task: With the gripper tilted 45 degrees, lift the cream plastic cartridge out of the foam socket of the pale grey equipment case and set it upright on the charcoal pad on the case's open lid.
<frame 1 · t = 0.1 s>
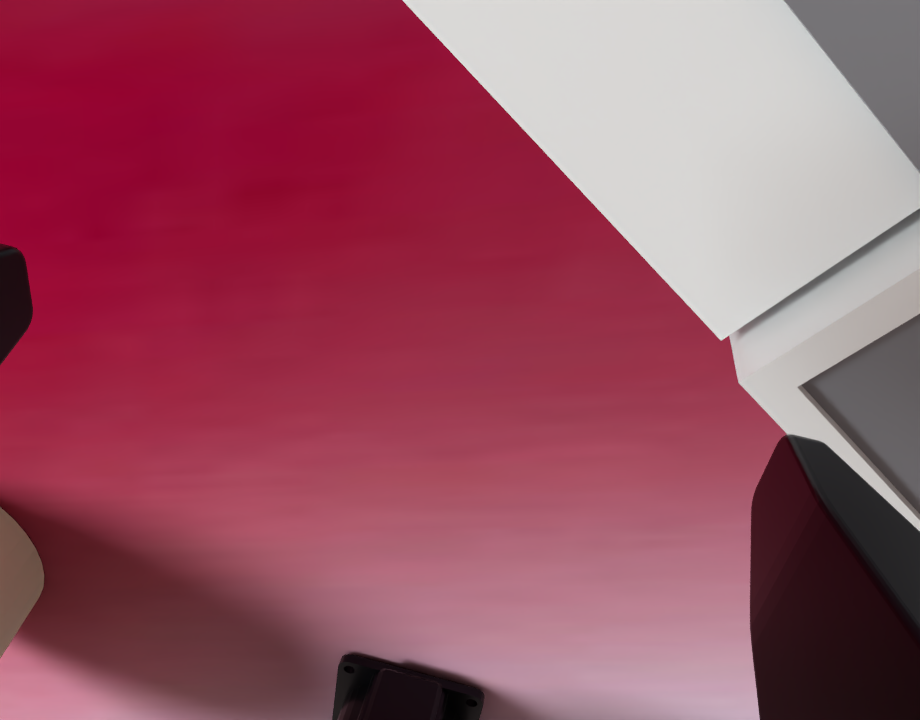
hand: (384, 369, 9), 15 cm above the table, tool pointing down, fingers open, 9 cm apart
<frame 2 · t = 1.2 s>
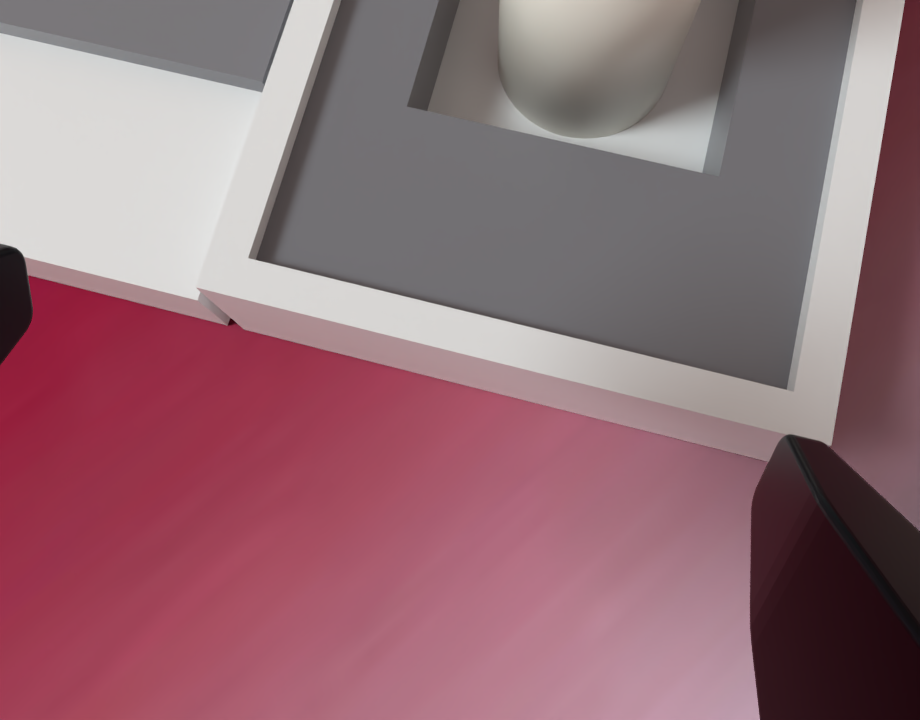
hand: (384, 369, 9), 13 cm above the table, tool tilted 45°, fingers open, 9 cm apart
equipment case: (579, 78, 24), on the table
cartridge: (583, 59, 23), point 1 cm above the table, touching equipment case
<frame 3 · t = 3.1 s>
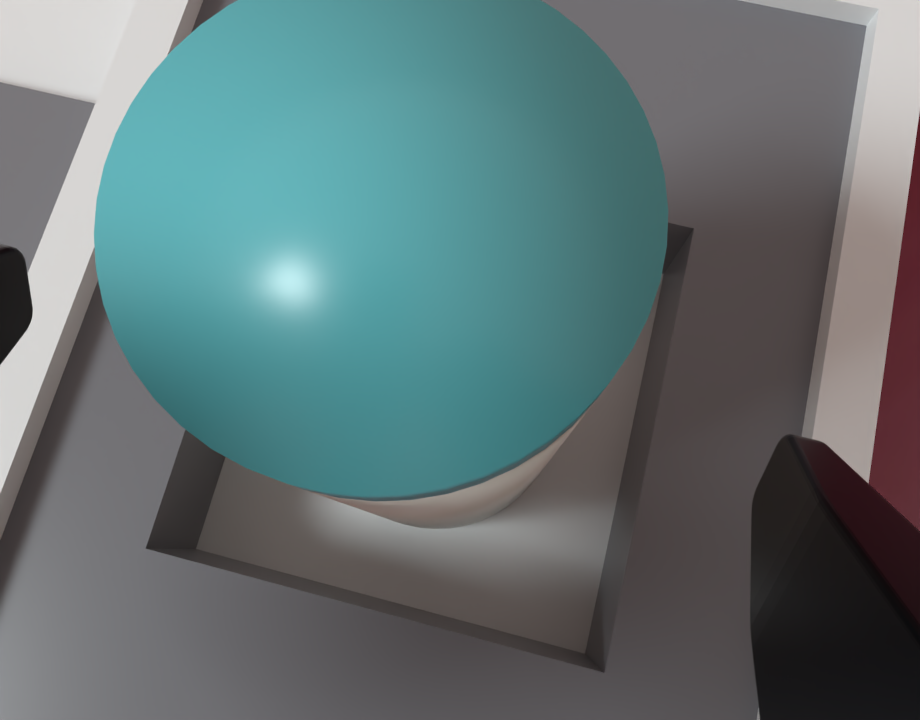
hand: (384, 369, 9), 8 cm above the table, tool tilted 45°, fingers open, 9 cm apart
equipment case: (440, 414, 18), on the table
cartridge: (437, 406, 17), point 1 cm above the table, touching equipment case
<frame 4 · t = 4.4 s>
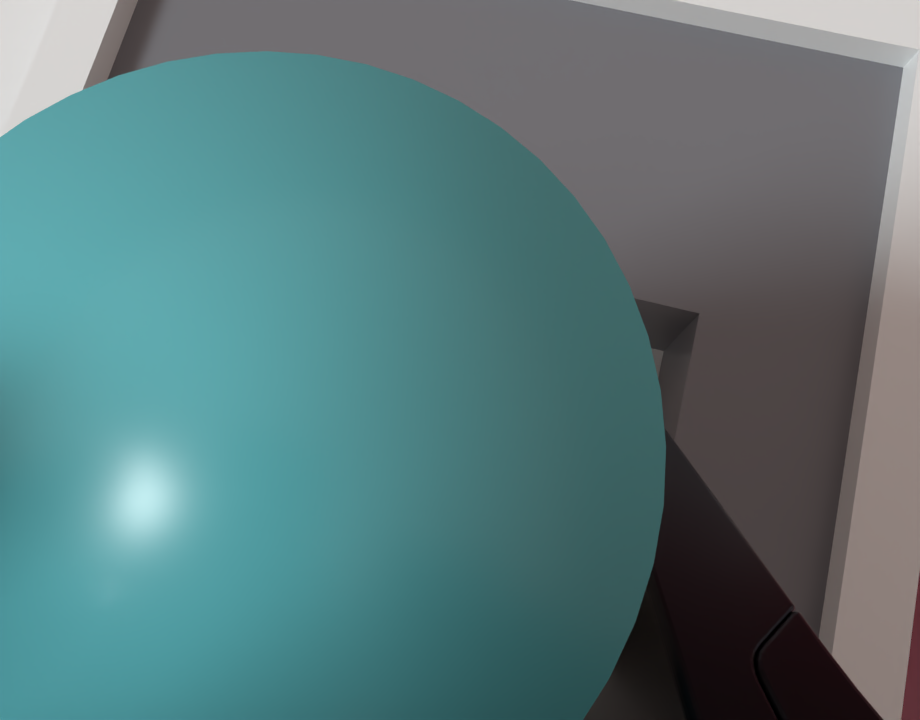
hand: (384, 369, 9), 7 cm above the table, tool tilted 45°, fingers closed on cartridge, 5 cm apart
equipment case: (405, 511, 15), on the table
cartridge: (400, 509, 14), point 1 cm above the table, touching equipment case, gripper
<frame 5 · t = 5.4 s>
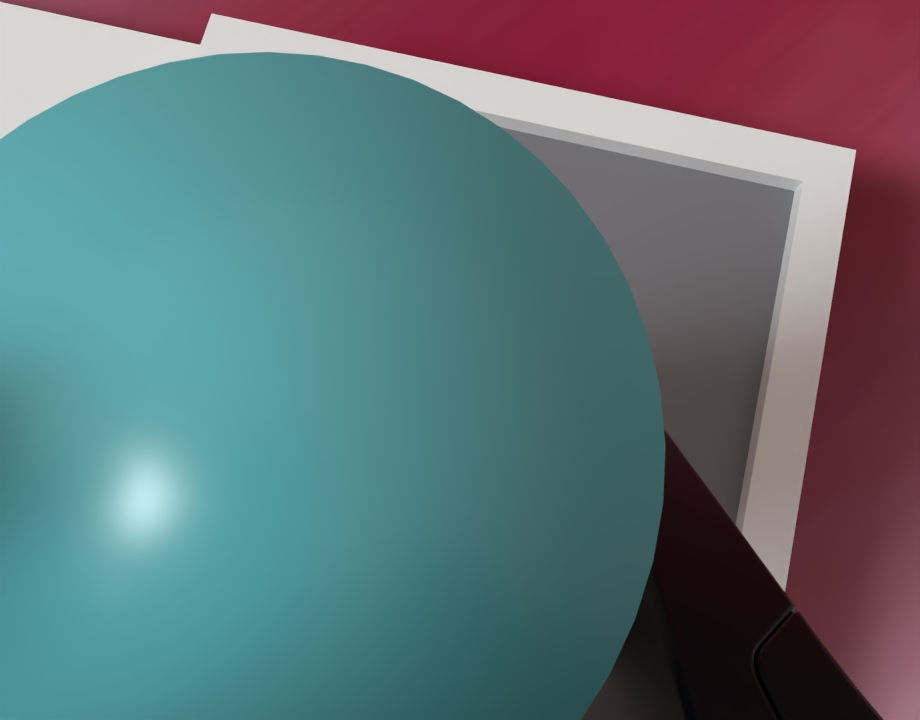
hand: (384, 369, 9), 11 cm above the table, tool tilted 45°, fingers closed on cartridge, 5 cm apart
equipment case: (423, 519, 20), on the table
cartridge: (400, 508, 14), point 6 cm above the table, touching gripper
when the fingers open (10 cm above the table, at t = 7.7 s): cartridge drops 1 cm, resting on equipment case.
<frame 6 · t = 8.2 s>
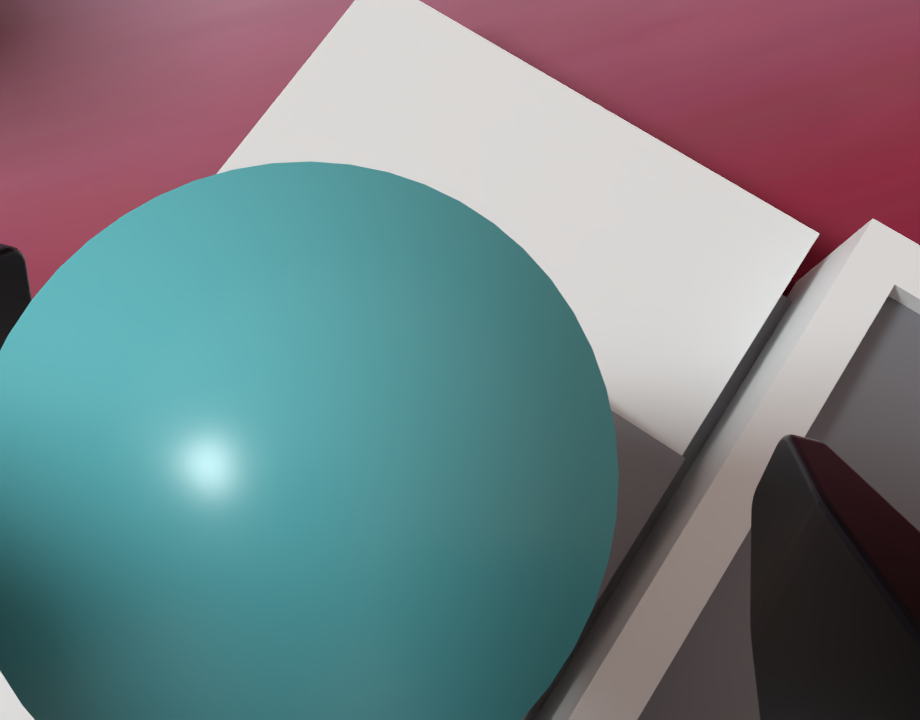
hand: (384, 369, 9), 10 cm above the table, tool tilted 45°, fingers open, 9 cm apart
cartridge: (407, 514, 16), point 3 cm above the table, touching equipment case
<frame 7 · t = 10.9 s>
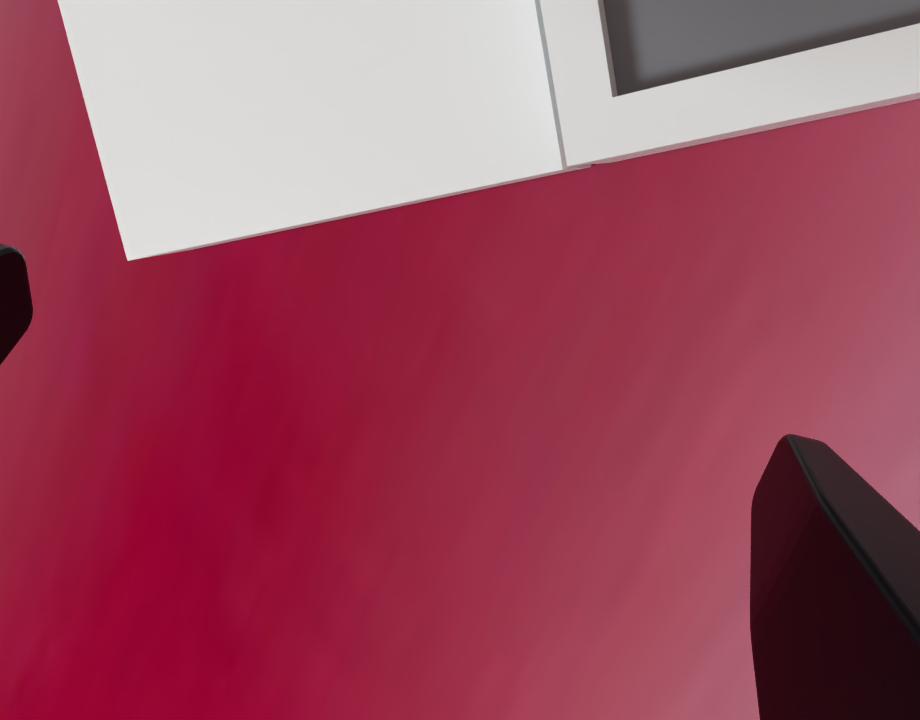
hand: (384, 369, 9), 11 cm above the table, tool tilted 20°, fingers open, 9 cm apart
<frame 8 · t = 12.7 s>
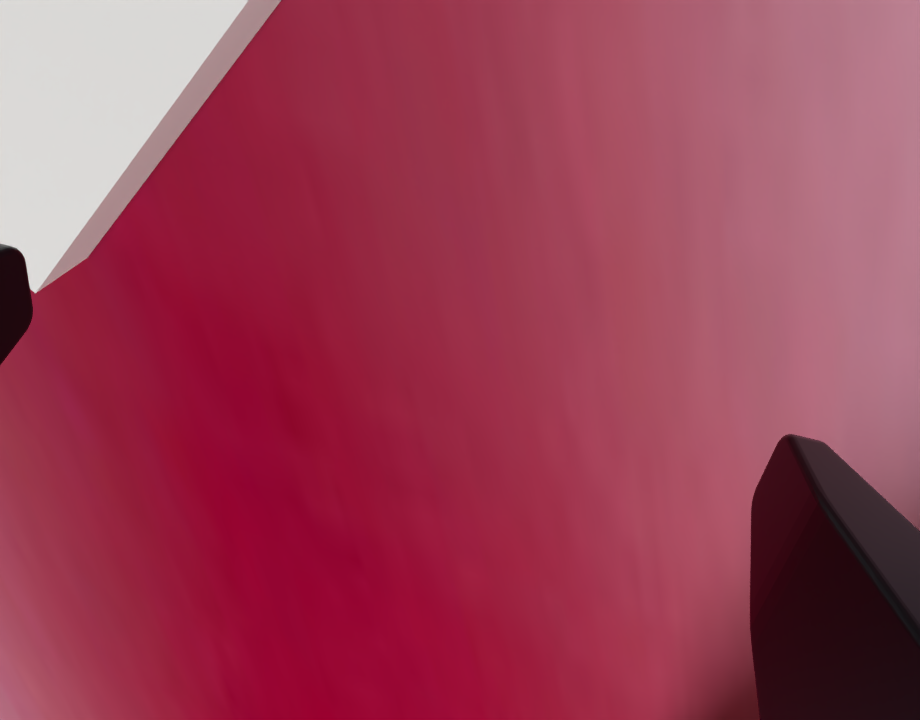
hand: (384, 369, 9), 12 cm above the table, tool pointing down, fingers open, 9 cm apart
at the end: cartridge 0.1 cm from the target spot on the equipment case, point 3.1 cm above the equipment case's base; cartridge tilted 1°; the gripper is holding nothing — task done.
